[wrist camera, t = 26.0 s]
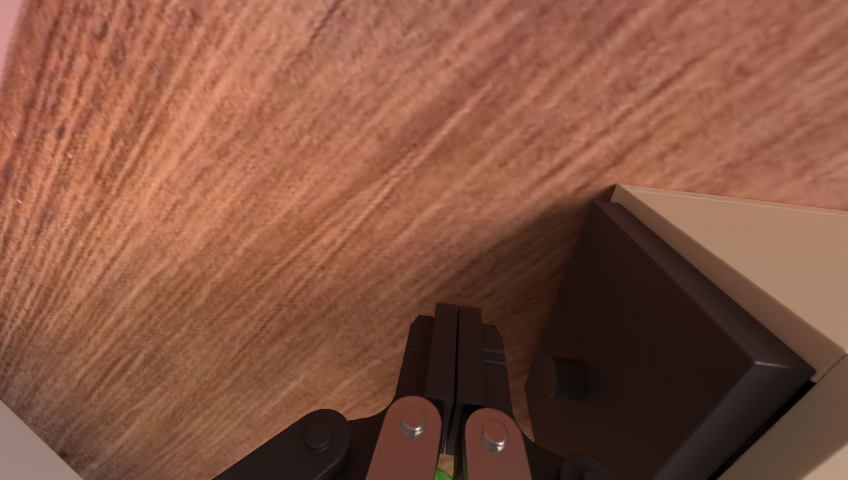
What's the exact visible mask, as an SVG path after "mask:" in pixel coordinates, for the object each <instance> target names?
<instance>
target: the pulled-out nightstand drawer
mask: <svg viewBox="0 0 848 480" xmlns="http://www.w3.org/2000/svg"><path fill="white" fill-rule="evenodd" d="M815 373H816V371H815V369H814V368H813V367H812V366H810V365H809V364H808V363H807V362H806V361H805V360H803V359H802V358H801V357H800V356H799V355H797V354H796V353H795V352H794V351H793V350H792V349H790V348H789V347H788V346H787V345H786V344H785V343H783V342H782V341H781V340H780V339H779V338H778V337H776V336H775V335H774V334H773V333H772V332H770V331H769V330H768V329H767V328H766V327H765V326H763V325H762V324H761V323H760V322H759V321H758V320H756V319H755V318H754V317H753V316H752V315H751V314H749V313H748V312H747V311H746V310H745V309H743V308H742V307H741V306H740V305H739V304H738V303H736V302H735V301H734V300H733V299H732V298H731V297H729V296H728V295H727V294H726V293H725V292H723V291H722V290H721V289H720V288H719V287H718V286H716V285H715V284H714V283H713V282H712V281H711V280H709V279H708V278H707V277H706V276H705V275H704V274H702V273H701V272H700V271H699V270H698V269H696V268H695V267H694V266H693V265H692V264H691V263H689V262H688V261H687V260H686V259H685V258H684V257H682V256H681V255H680V254H679V253H678V252H676V251H675V250H674V249H673V248H672V247H671V246H669V245H668V244H667V243H666V242H665V241H664V240H662V239H661V238H660V237H659V236H658V235H657V234H655V233H654V232H653V231H652V230H651V229H649V228H648V227H647V226H646V225H645V224H644V223H642V222H641V221H640V220H639V219H638V218H637V217H635V216H634V215H633V214H632V213H631V212H630V211H628V210H627V209H626V208H625V207H624V206H622V205H621V204H620V203H615V202H607V201H599V200H593V201H592V204H591V206H590V209H589V212H588V214H587V217H586V220H585V223H584V225H583V228H582V231H581V233H580V236H579V239H578V242H577V244H576V247H575V250H574V252H573V255H572V258H571V261H570V263H569V266H568V269H567V271H566V274H565V277H564V280H563V282H562V285H561V288H560V290H559V293H558V296H557V299H556V301H555V304H554V307H553V309H552V312H551V315H550V318H549V320H548V323H547V326H546V328H545V331H544V334H543V337H542V339H541V342H540V345H539V347H538V350H537V353H536V355H535V358H534V361H533V364H532V366H531V369H530V372H529V374H528V377H527V380H526V383H525V385H524V388H525V393H526V398H527V404H528V409H529V415H530V420H531V425H532V431H533V436H534V442H535V444H537V445H539V446H540V447H542V448H544V449H546V450H548V451H550V452H552V453H554V454H556V455H558V456H560V457H562V458H564V459H566V457H568V456H569V455H571V454H574V453H585V454H589V455H592V456H594V457H596V458H598V459H599V460H601V461H603V462H604V463H605V464H607V465H608V466H609V467H610V468H611V469H612V470H613V471H614V472H615V473H616V474H617V475H618V476H619V477H620V478H621V479H622V480H717V479H718V478H719V477H720V476H721V475H722V474H723V473H724V472H725V470H723V469H722V468H720V467H721V466H722V465H723V464H724V463H725V462H726V461H727V460H728V459H729V458H730V457H731V456H732V455H733V454H734V453H735V452H736V451H737V450H738V449H739V448H740V447H741V446H742V445H743V444H744V443H745V442H746V441H747V440H748V439H749V438H750V437H751V436H752V435H753V434H754V433H755V432H756V431H757V430H758V429H759V428H760V427H761V426H762V425H763V424H764V423H765V422H766V421H767V420H768V419H769V418H770V417H771V416H773V415H774V414H775V413H776V412H777V411H778V410H779V409H780V408H781V407H782V406H783V405H784V404H785V403H786V402H787V401H788V400H789V399H790V398H791V397H792V396H793V395H794V394H795V393H796V392H797V391H798V392H799V393H800V394H801V395H802V396H804V395H805V394H806V393H807V392H808V391H809V390H810V389H811V388H812V387H813V386H814V385H815V384H816V383H814V382H812V381H810V380H809V379H810V378H811V377H812V376H813V375H814V374H815Z"/></svg>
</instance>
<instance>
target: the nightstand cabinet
mask: <svg viewBox="0 0 848 480" xmlns="http://www.w3.org/2000/svg"><path fill="white" fill-rule="evenodd" d="M610 202H615V203H620V204H621V205H622V206H624V207H625V208H626V209H627V210H628V211H630V212H631V213H632V214H633V215H634V216H635V217H637V218H638V219H639V220H640V221H641V222H642V223H644V224H645V225H646V226H647V227H648V228H649V229H651V230H652V231H653V232H654V233H655V234H657V235H658V236H659V237H660V238H661V239H662V240H664V241H665V242H666V243H667V244H668V245H669V246H671V247H672V248H673V249H674V250H675V251H676V252H678V253H679V254H680V255H681V256H682V257H684V258H685V259H686V260H687V261H688V262H689V263H691V264H692V265H693V266H694V267H695V268H696V269H698V270H699V271H700V272H701V273H702V274H704V275H705V276H706V277H707V278H708V279H709V280H711V281H712V282H713V283H714V284H715V285H716V286H718V287H719V288H720V289H721V290H722V291H723V292H725V293H726V294H727V295H728V296H729V297H731V298H732V299H733V300H734V301H735V302H736V303H738V304H739V305H740V306H741V307H742V308H743V309H745V310H746V311H747V312H748V313H749V314H751V315H752V316H753V317H754V318H755V319H756V320H758V321H759V322H760V323H761V324H762V325H763V326H765V327H766V328H767V329H768V330H769V331H770V332H772V333H773V334H774V335H775V336H776V337H778V338H779V339H780V340H781V341H782V342H783V343H785V344H786V345H787V346H788V347H789V348H790V349H792V350H793V351H794V352H795V353H796V354H797V355H799V356H800V357H801V358H802V359H803V360H805V361H806V362H807V363H808V364H809V365H810V366H812V367H813V368H814V369H815V371H816V373H815V374H814V375H813V376H812V377H811V378H810V379H809V380H810V381H812V382H814V383H816V384H815V385H814V386H813V387H812V388H811V389H810V390H809V391H808V392H807V393H806V394H805V395H804V396H803V397H802V398H801V399H800V400H799V401H798V402H797V403H796V404H795V405H794V406H793V407H791V408H790V409H789V410H788V411H787V412H786V413H785V414H784V415H783V416H782V417H781V418H780V419H779V420H778V421H777V422H776V423H775V424H774V425H773V426H772V427H771V428H770V429H769V430H768V431H767V432H765V433H764V434H763V435H762V436H761V437H760V438H759V439H758V440H757V441H756V442H755V443H754V444H753V445H752V446H751V447H750V448H749V449H748V450H747V451H746V452H745V453H744V454H743V455H742V456H741V457H739V458H738V459H737V460H736V461H735V462H734V463H733V464H732V465H731V466H730V467H729V468H728V469H727V470H726V471H725V472H724V473H723V474H722V475H721V476H720V477H719V478H718V479H717V480H848V211H843V210H835V209H827V208H818V207H810V206H802V205H793V204H785V203H777V202H768V201H760V200H751V199H743V198H735V197H726V196H718V195H710V194H701V193H693V192H685V191H676V190H668V189H660V188H651V187H643V186H635V185H626V184H617V185H616V188H615V190H614V193H613V195H612V198H611V200H610Z"/></svg>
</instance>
